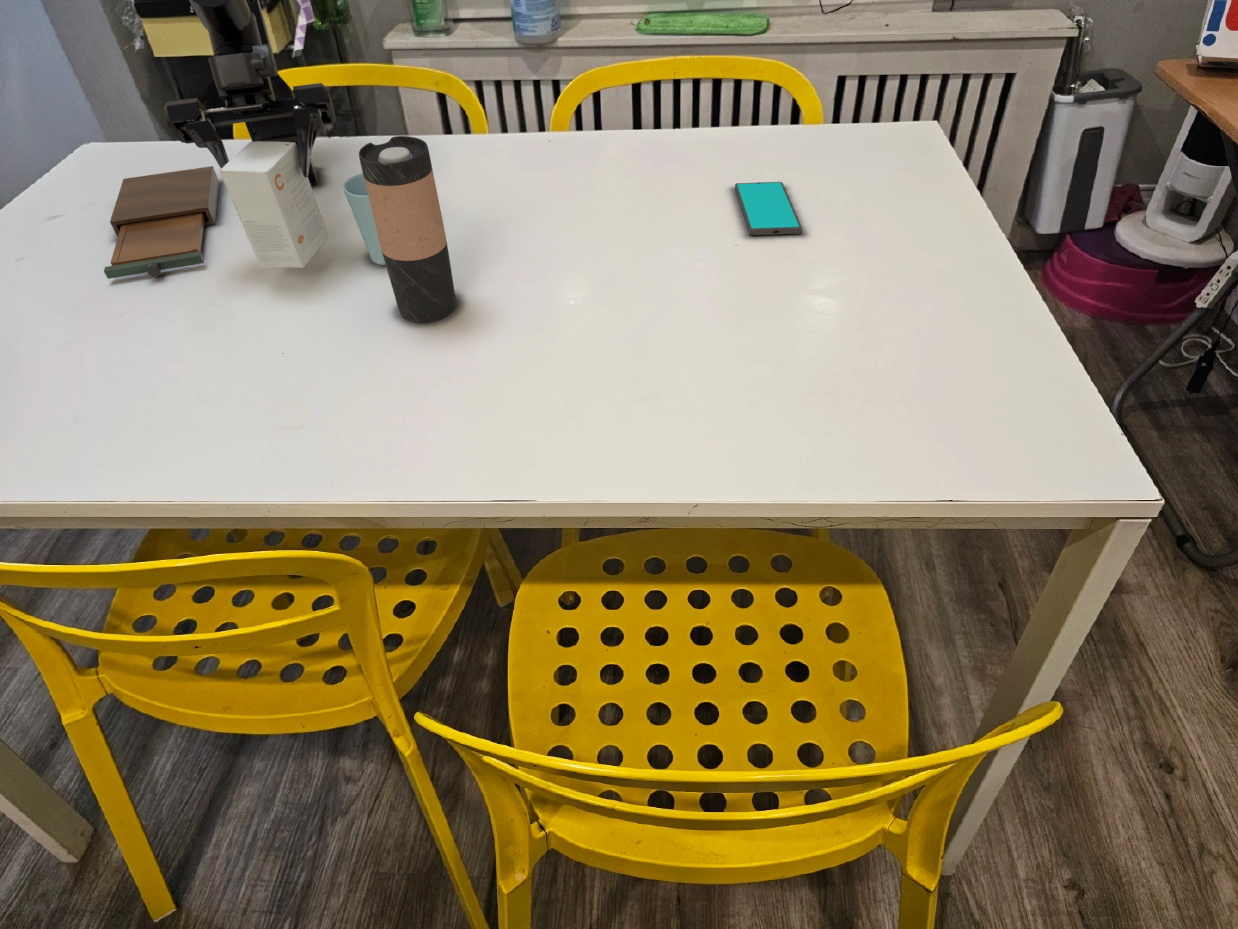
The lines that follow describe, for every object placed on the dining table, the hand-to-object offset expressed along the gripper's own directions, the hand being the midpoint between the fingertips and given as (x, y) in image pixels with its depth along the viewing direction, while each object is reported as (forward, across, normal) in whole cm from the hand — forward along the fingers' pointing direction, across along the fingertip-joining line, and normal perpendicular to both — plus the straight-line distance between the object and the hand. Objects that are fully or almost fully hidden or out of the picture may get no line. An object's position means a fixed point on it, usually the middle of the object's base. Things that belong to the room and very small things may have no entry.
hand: (269, 181), depth 97 cm
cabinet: (-10, -18, +29) cm, 35 cm away
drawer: (0, -19, +18) cm, 26 cm away
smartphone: (+13, +66, +6) cm, 67 cm away
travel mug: (+19, +15, -1) cm, 24 cm away
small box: (+7, 0, +8) cm, 10 cm away
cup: (+9, +12, +10) cm, 18 cm away
